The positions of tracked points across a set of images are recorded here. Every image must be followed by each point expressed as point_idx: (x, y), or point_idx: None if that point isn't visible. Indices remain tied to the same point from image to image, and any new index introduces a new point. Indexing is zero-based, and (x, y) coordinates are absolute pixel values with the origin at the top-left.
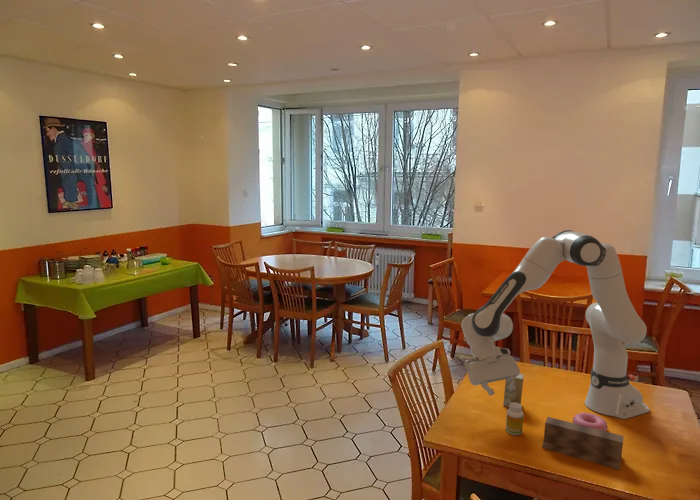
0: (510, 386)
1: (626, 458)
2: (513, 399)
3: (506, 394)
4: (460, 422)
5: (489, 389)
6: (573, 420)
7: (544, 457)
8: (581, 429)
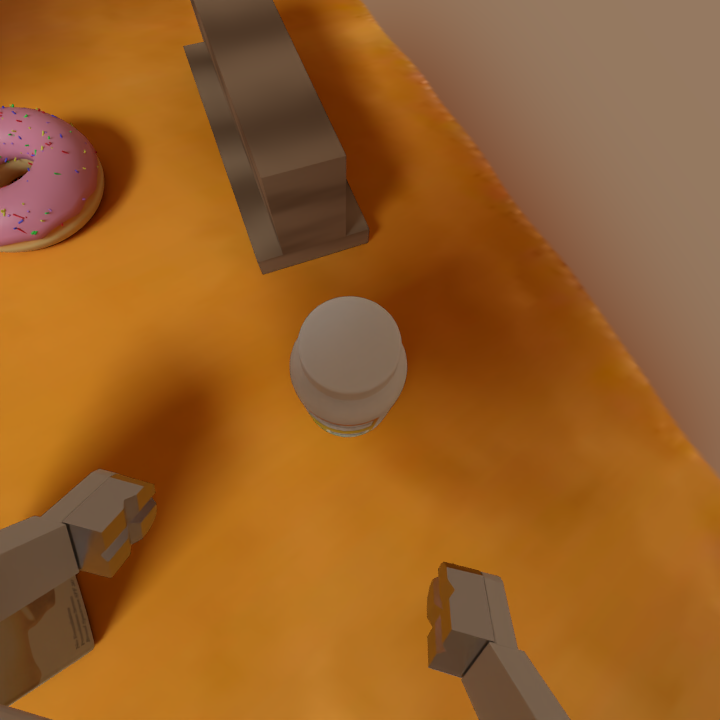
0: (119, 533)
1: None
2: None
3: (7, 681)
4: None
5: (515, 645)
6: (43, 227)
7: (422, 207)
8: (257, 30)
